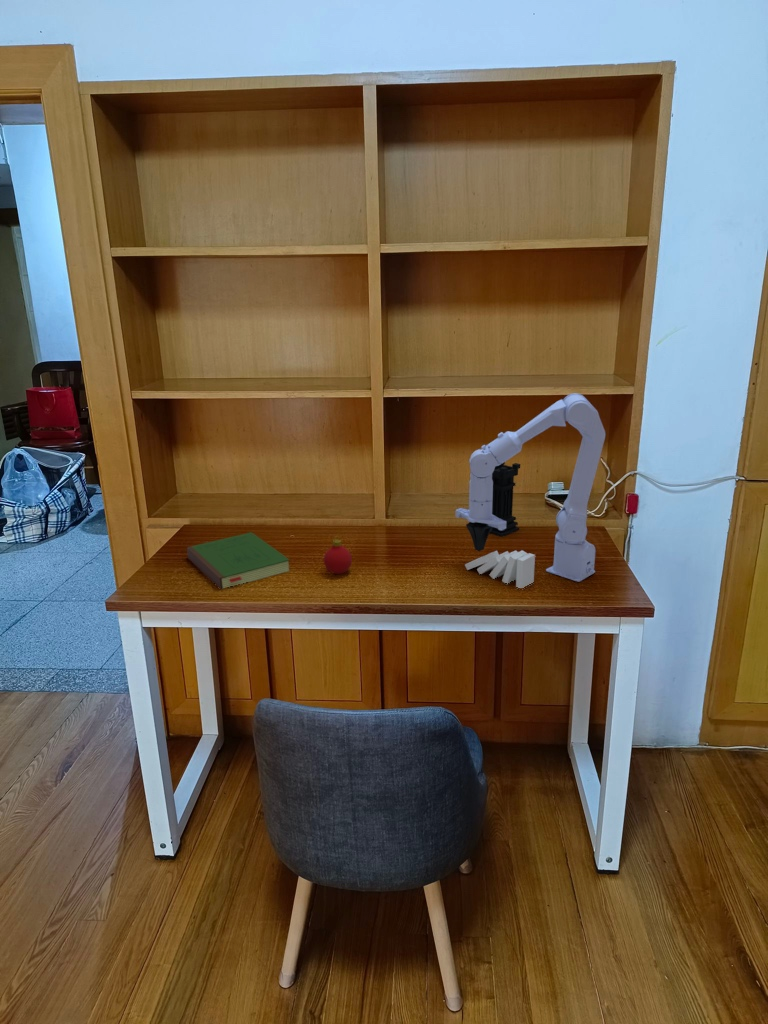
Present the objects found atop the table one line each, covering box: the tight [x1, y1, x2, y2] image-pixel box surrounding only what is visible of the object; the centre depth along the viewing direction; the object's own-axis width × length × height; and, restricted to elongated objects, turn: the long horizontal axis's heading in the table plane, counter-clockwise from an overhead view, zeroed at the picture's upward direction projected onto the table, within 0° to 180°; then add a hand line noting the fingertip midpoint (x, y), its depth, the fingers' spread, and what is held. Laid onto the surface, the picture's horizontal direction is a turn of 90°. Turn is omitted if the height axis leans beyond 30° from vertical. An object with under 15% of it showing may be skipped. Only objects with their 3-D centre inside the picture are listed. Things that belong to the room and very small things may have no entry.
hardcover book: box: [186, 532, 291, 590], centre depth 180 cm, size 25×19×4 cm
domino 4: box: [501, 549, 528, 585], centre depth 166 cm, size 2×5×8 cm, turn 135°
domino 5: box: [515, 552, 536, 589], centre depth 164 cm, size 2×5×8 cm, turn 135°
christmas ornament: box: [323, 535, 353, 575], centre depth 173 cm, size 7×7×10 cm
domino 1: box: [464, 550, 500, 571], centre depth 173 cm, size 2×5×8 cm
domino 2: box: [476, 550, 510, 575], centre depth 170 cm, size 2×5×8 cm
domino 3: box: [488, 549, 518, 580], centre depth 168 cm, size 2×5×8 cm
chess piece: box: [489, 461, 521, 538], centre depth 197 cm, size 8×8×20 cm
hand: (479, 549), depth 173 cm, fingers closed
